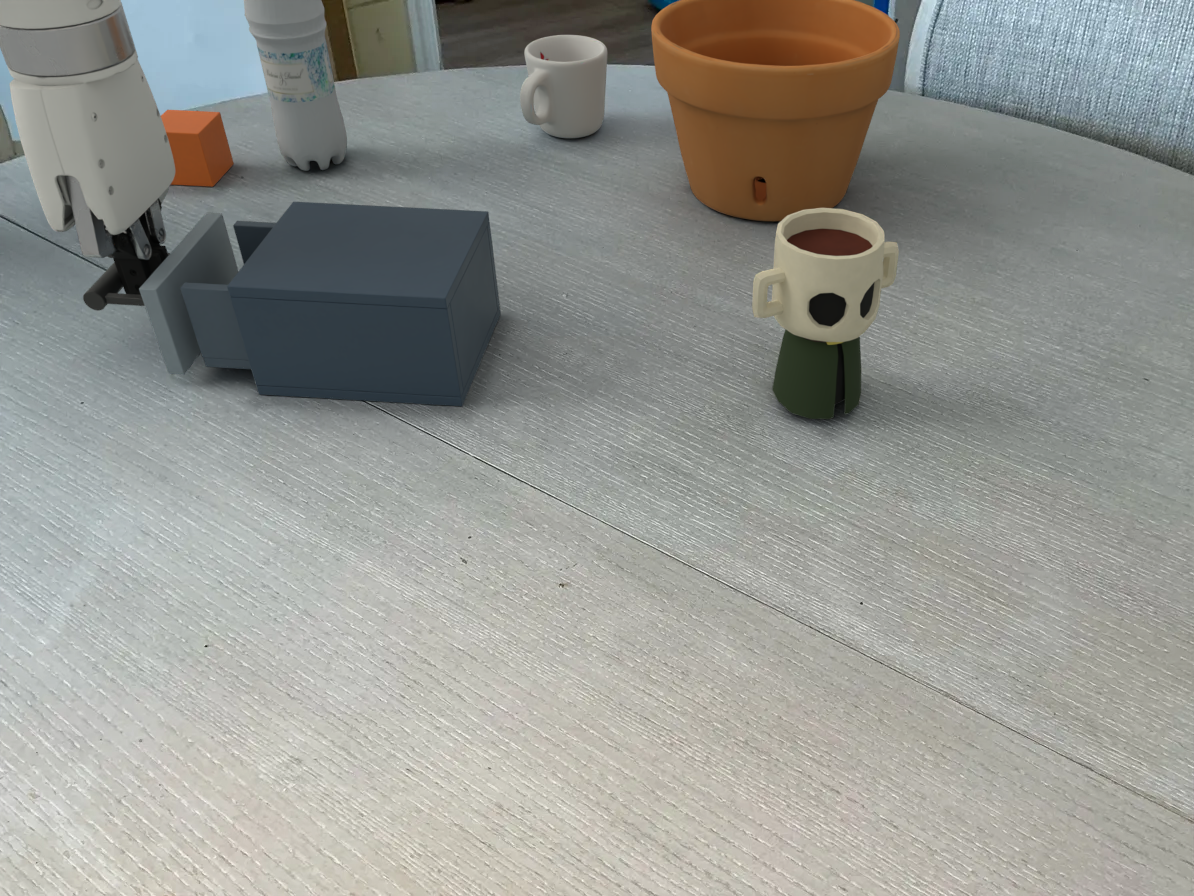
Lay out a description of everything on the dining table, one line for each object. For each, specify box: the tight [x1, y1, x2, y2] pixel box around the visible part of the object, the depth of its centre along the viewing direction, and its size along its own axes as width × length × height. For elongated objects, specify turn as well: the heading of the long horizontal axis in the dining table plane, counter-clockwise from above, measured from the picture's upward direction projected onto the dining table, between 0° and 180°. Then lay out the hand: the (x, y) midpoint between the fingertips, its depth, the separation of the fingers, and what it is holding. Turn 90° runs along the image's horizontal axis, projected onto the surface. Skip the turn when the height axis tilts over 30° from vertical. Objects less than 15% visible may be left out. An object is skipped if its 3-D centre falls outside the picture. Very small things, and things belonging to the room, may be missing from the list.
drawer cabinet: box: [227, 201, 502, 407], centre depth 84 cm, size 15×13×9 cm
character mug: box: [751, 207, 900, 420], centre depth 79 cm, size 11×7×13 cm, turn 117°
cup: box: [519, 34, 608, 139], centre depth 115 cm, size 11×8×8 cm
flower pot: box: [650, 0, 901, 222], centre depth 104 cm, size 21×21×15 cm
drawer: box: [82, 211, 277, 375], centre depth 85 cm, size 19×11×7 cm, turn 86°
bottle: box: [243, 0, 348, 171], centre depth 105 cm, size 7×7×20 cm
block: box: [160, 109, 235, 188], centre depth 108 cm, size 5×5×5 cm
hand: (155, 299), depth 86 cm, fingers closed
